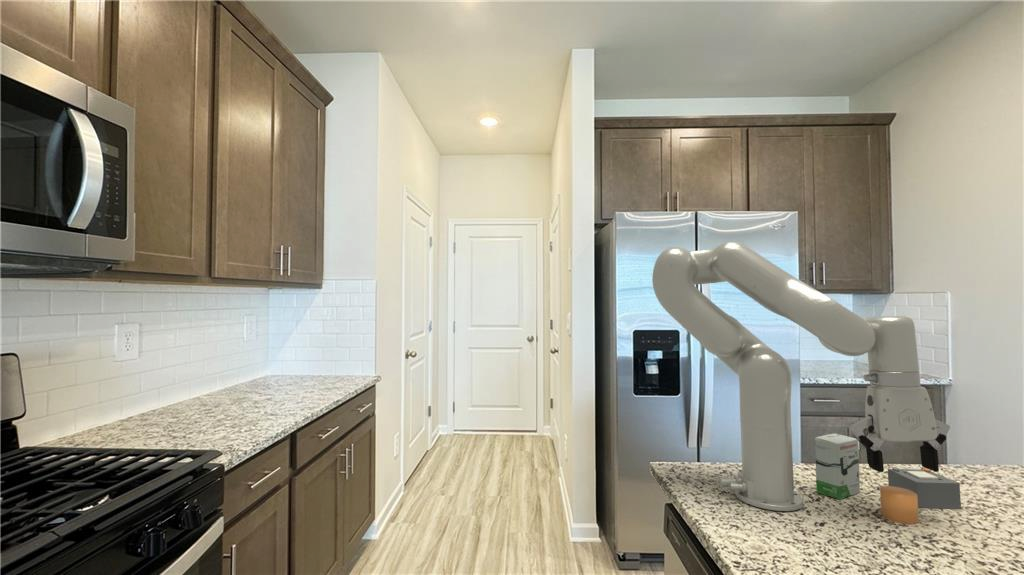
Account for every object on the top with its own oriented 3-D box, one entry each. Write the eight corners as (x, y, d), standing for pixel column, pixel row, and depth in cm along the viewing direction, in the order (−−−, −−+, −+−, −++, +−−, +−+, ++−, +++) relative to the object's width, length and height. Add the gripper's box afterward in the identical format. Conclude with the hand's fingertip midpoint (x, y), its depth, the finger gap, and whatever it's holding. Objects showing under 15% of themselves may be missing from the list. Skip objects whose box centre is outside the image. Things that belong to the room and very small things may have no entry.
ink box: (839, 500, 95) (837, 443, 96) (815, 492, 100) (812, 437, 100) (862, 492, 99) (859, 437, 100) (837, 485, 104) (834, 432, 104)
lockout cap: (894, 524, 85) (893, 496, 85) (874, 511, 90) (873, 485, 91) (926, 525, 84) (925, 497, 85) (904, 512, 90) (902, 486, 90)
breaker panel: (918, 507, 92) (916, 479, 92) (888, 491, 100) (887, 465, 100) (961, 508, 91) (959, 480, 91) (928, 493, 99) (926, 466, 99)
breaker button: (920, 499, 94) (919, 477, 94) (907, 492, 97) (906, 471, 97) (939, 500, 93) (938, 477, 94) (925, 493, 97) (924, 471, 97)
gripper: (860, 383, 86) (868, 476, 84) (959, 381, 84) (969, 475, 83) (835, 378, 93) (843, 463, 92) (926, 375, 92) (935, 462, 90)
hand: (903, 469), depth 87 cm, fingers open, 9 cm apart
